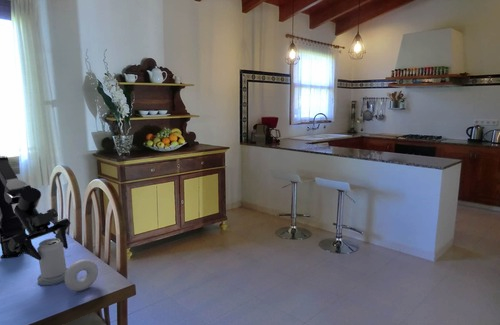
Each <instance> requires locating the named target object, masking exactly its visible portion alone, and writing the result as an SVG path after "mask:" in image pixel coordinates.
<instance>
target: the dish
mask: <svg viewBox="0 0 500 325" xmlns="http://www.w3.org/2000/svg"><path fill="white" fill-rule="evenodd" d="M68 268H69V267H66V271H67V270H68ZM66 271H65V272H64V274H63V275H61V276H60V277H57V278H54V279H45V278H44V277H42V276H41V274H40V275H38V277H37V283H38V285H40V286H42V287H43V286H45V287H48V286H49V287H50V286H54V285H55V286H56V285H58V284H61V283H65V281H64V280H65V274H66Z"/></svg>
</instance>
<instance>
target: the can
mask: <svg viewBox="0 0 500 325" xmlns="http://www.w3.org/2000/svg"><path fill="white" fill-rule="evenodd" d="M36 250H37V252H38V253H39V255H40V257H41V260H38V261H39V262H38V263H39V269H40V275H41V276H42V277H44V278H45V279H54V278H57V277H60V276H61V275H63V274H64V272H65V271H66V268H67V266H66V264H67V263H66V258H65V251H64V250H65V248H64V247H63V243H62V242H60V239H57V238H56V237H54V238H46V239H44V240H42V241H40V242H39V243H38V247H37V248H36Z"/></svg>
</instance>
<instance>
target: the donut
mask: <svg viewBox="0 0 500 325" xmlns="http://www.w3.org/2000/svg"><path fill="white" fill-rule="evenodd" d="M67 268H68V270H67V271H66V274H65V280H64V283H65V286H66V287H67V288H68V289H69V290H71V291H73V292H81V291H85V290H87V289H88V288H90V287H91V286H93V284H94V283H96V281H97V279H98V276H99V268H98V266H97V264H96V263H95V261H93V260H91V259H86V258H85V259H80V260H77V261H75V262H74V263H72V264H71V265H70V266H69V267H67ZM82 271H85V272H86V275H85V277H83V278H82V279H78V277H77V276H78V274H79V273H80V272H82Z"/></svg>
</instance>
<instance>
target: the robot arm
mask: <svg viewBox="0 0 500 325" xmlns="http://www.w3.org/2000/svg"><path fill="white" fill-rule="evenodd" d="M9 161H10V160H9V158H8V156H6V155H0V247H1V253H2V254H1V255H0V258H1V259H3V258H18V257H20V256H21V255H22V254H26V255H28V256H30V257H32V258H33V259H36V260H38V261H39V260H41V257H40V255H39V253H38V250H37V248H36V247H35V246H34V245H33V242H32V240H35V239H37V238H40V237H42V236H46V235H49V234H51V233H53V234H54V235H55V236H54V238H57V239H60V242H62V243H63V248H64V250H68V248H69V245H68V241H67V240H68V239H67V236H66V235H67V234H66V231H67V230H68V228H69V226H70V225H71V221H70V219H69V218H65V217H64V218H61V219H59V220H56V221H55V219H56V218H58V217H59V216H58V215H59V214H58V212H57V210H56V209H55V207H54V208H53V207H52V208H50V209H48V210H46V212H44V213H42V212H39V211H38V209H37V207H38V206H39V202H40V200H41V197H42V193H41V191H40V190H39V189H37V188H36V187H31V185H30V184H27V183H26V182H25V181H23V180H20V179H19V178H18V176H17V174H16V173H15V171H14V169H13V168H12V166H11V164H10V162H9ZM13 205H15V207H14V206H13ZM13 207H14V208H13ZM54 221H55V222H54ZM51 222H54V224H53V225H52V226H50V225H51Z"/></svg>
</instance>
